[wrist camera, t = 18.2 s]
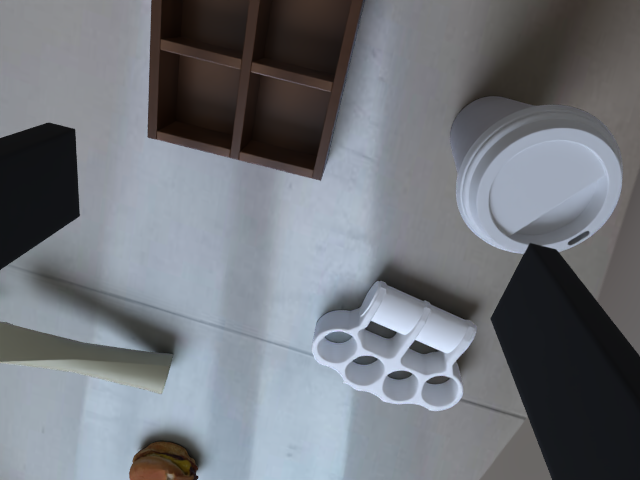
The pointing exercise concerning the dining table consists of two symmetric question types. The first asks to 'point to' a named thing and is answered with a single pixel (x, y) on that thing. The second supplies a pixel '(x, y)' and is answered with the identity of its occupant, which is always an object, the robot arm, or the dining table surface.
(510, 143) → the coffee cup
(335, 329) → the knuckle duster
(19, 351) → the flower vase
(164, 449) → the burger
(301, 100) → the grid
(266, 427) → the dining table surface
